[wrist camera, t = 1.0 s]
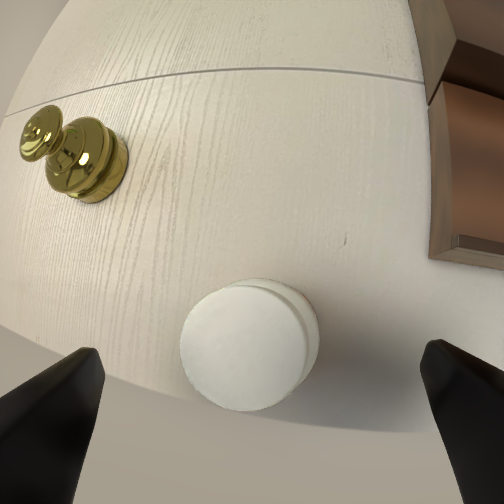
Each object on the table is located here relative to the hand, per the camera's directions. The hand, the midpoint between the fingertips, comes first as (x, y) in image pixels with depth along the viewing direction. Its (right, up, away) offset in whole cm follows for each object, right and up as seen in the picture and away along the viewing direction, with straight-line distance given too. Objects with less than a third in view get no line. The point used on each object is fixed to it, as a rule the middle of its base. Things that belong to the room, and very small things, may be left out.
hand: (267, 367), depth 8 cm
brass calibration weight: (-15, +11, +21) cm, 28 cm away
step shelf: (+21, +25, +15) cm, 36 cm away
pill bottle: (+1, -3, +15) cm, 16 cm away
